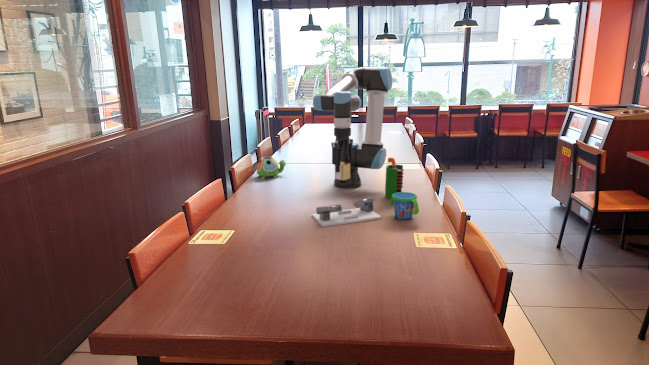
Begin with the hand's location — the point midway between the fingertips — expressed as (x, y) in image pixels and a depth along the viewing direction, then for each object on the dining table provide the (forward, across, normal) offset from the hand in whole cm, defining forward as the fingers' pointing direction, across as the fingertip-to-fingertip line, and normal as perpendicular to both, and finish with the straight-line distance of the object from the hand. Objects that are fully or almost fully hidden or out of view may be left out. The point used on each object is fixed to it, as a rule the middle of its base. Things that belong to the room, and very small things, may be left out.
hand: (342, 177), depth 195 cm
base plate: (+15, -10, -9) cm, 20 cm away
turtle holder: (+15, +22, +71) cm, 76 cm away
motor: (+15, +30, -10) cm, 35 cm away
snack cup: (+15, +6, -29) cm, 33 cm away
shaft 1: (+15, -17, -6) cm, 23 cm away
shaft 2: (+15, 0, -12) cm, 19 cm away
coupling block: (0, 0, 0) cm, 0 cm away
